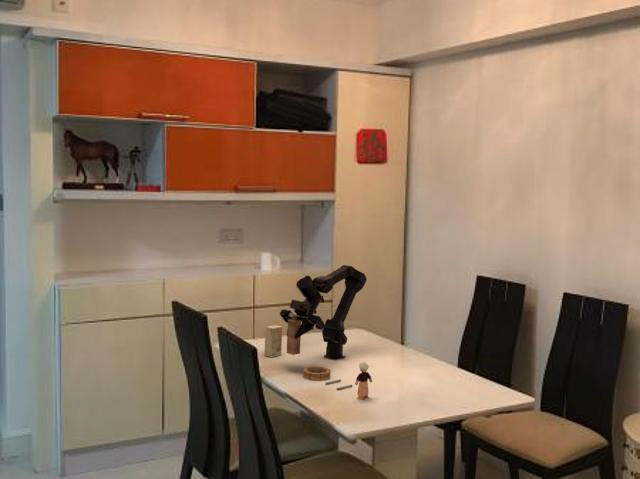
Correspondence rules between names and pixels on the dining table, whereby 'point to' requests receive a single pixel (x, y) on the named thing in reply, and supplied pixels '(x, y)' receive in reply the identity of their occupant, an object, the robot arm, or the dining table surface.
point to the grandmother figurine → (363, 381)
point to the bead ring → (316, 373)
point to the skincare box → (273, 341)
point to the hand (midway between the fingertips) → (291, 336)
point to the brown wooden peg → (293, 336)
